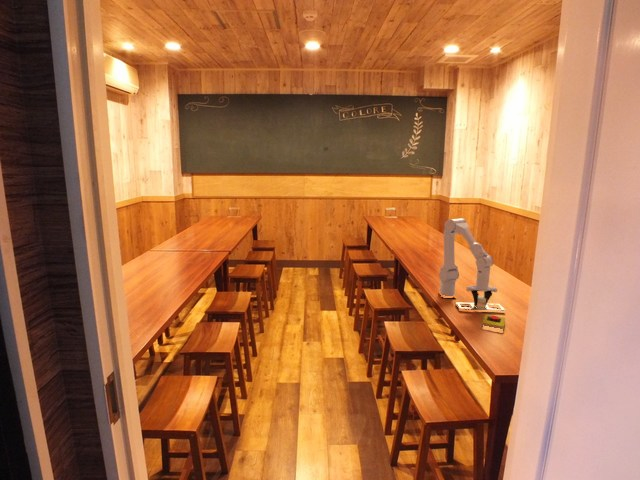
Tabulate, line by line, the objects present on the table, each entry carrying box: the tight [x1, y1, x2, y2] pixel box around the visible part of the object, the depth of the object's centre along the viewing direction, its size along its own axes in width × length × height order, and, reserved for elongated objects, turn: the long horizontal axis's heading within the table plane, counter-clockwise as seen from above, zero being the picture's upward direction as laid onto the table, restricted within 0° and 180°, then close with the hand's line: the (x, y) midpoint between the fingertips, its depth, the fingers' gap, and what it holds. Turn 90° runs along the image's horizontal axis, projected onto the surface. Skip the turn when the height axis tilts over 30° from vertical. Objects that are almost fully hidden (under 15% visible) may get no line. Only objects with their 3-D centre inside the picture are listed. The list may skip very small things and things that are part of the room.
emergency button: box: [481, 313, 506, 330], centre depth 182 cm, size 9×4×15 cm
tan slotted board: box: [455, 301, 506, 312], centre depth 201 cm, size 8×22×2 cm, turn 86°
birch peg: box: [475, 295, 486, 308], centre depth 201 cm, size 4×4×6 cm
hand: (480, 304), depth 201 cm, fingers closed on birch peg, 4 cm apart
